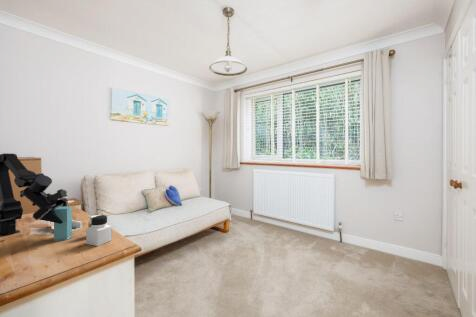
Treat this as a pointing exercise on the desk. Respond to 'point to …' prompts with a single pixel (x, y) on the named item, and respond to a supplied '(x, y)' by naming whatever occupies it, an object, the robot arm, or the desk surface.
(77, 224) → the white channel beam
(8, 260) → the desk surface
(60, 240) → the coaster
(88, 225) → the supplement bottle
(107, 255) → the desk surface
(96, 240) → the medicine bottle
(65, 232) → the teal box
